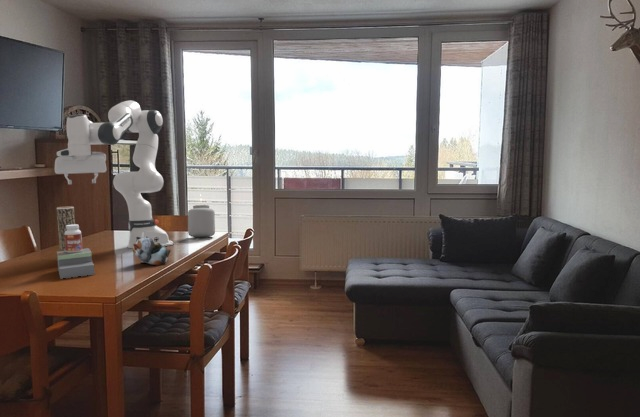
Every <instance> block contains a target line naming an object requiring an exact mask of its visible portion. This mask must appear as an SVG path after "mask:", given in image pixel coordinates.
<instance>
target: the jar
mask: <svg viewBox="0 0 640 417" xmlns="http://www.w3.org/2000/svg"><path fill="white" fill-rule="evenodd" d="M199 196H200V197H202V194H199ZM199 200H200V202H202V201H203V199H199ZM215 215H216V214H215V210H214V209H213V208H211V207H210V205H208V204H195V205H193V206H192V208H190V209H189V210H188V211H187V229H188V230H187V234H188V236H190V237H192V238H207V237H213V236H215V234H216V223H215V222H216V217H215Z"/></svg>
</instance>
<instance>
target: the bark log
mask: <svg viewBox="0 0 640 417" xmlns="http://www.w3.org/2000/svg"><path fill="white" fill-rule="evenodd" d="M56 218H57V229H58V244H59V251H66V249H65V235H64V234H65V231H67V229H66V225H72V224H76V216H75V207H74V206H73V205H70V206H69V205H68V206H57V207H56Z"/></svg>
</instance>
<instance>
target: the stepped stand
mask: <svg viewBox="0 0 640 417" xmlns="http://www.w3.org/2000/svg"><path fill="white" fill-rule="evenodd" d="M56 255H57V256H56V258H57V259H56V260H57V269H58V270H57V271H58V275H59V278H60V280H64V279H63V278H66V279H71V277H73V278H79V277H78V276H81V277H86V276H87V275H88V276H93V275H95V274H96V273H95V264H94V262H93V258H92V255H93V254H92V251H91V249H90V248H89V247H86V248H82V251H81V252H76V253H67V252H66V251H60V250H59V251H56ZM88 276H87V277H88Z"/></svg>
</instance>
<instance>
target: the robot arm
mask: <svg viewBox="0 0 640 417" xmlns="http://www.w3.org/2000/svg"><path fill="white" fill-rule="evenodd" d="M107 117H108V120H109V121H106V122H93V121H91V120H89V118H88V115H86V114H85V113H84V114H83V113H79V114H78V113H77V114H70V115H69V116H67V118H66V124H65V125H66V126H65V127H66V136H67V139H68V142H67V148H64V149H61V150H59V151H56V156H57V157H56V158H55V161H54V173H55V174H57V175H64V177H65V179H66V180H67V185H73V182H72V181H73V180H72V179H69V178H68V176H69V174H93V175H94V178H92V179H91V184H97V179H98V177H99V174H100V173H102V174H103V173H106V172H107V164H106V161H107V154H106V153H104V152H103V151H92V150H91V149H92V148H91V145H96V146H97V145H107V146H108V145H109V146H112V145H113V146H114V145H117V143H119V141H120V139H121V138H122V136H123V135H124V134H125V133H129V134H134V133H138V138H137V141H136V144H135V146H134V151H133V155H132V161H133V163H134V165H135V166H136V167H138V168H139V170H138V171H137V170H136V171H123V172H120V173H119V172H117V173H116V174H115V176H114V177H113V182H112V183H113V187H114V189H115V190H116V191H117V192H119V193H120V194H121V195H122V196H123V198H124V200H125V201H126V202H125V203H126V205H127V210H128V231H129V238H128V244H127V248H129V249H133V247H134V246H133V244H136V239H137V238H136V237H140V238H144V237H145V236H147V237H148V238H151V239H152V240H153V241H154V244H157V243H160V244H162V245H164V246H165V247H168V246H173V245H174V241H172V240H171V239H169V235H168V233H167V231H166V230H164V229H162V228H161V227H159V226H158V224H159V223H160V222H159V220H158V219H154V218H153V211H152V204H151V203H150V202H149V201H148V200H146V199H145V198H144V197H143V196H142V194H145V193H146V194H151V193H152V194H153V193H156V192H160V191H161V190H162V189H163V187H164V182H165V181H164V178H163V175H162V174H161V173H159V171H157V169H156V158H157V154H158V150H159V135H158V134H159V133H160V131H161V129H162V127H163V125H164V118H163V115H162V114H161V112H160V111H158V110H156V109H149V110H148V109H147V110H145V109H144V110H142V108H141V106H140V104H139V103H138V102H137V101H135V100H125V101H121V102H119V103H117V104H115V105H114V106H112V107H111V108H110V109H109V110H108V113H107ZM141 193H142V194H141Z"/></svg>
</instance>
